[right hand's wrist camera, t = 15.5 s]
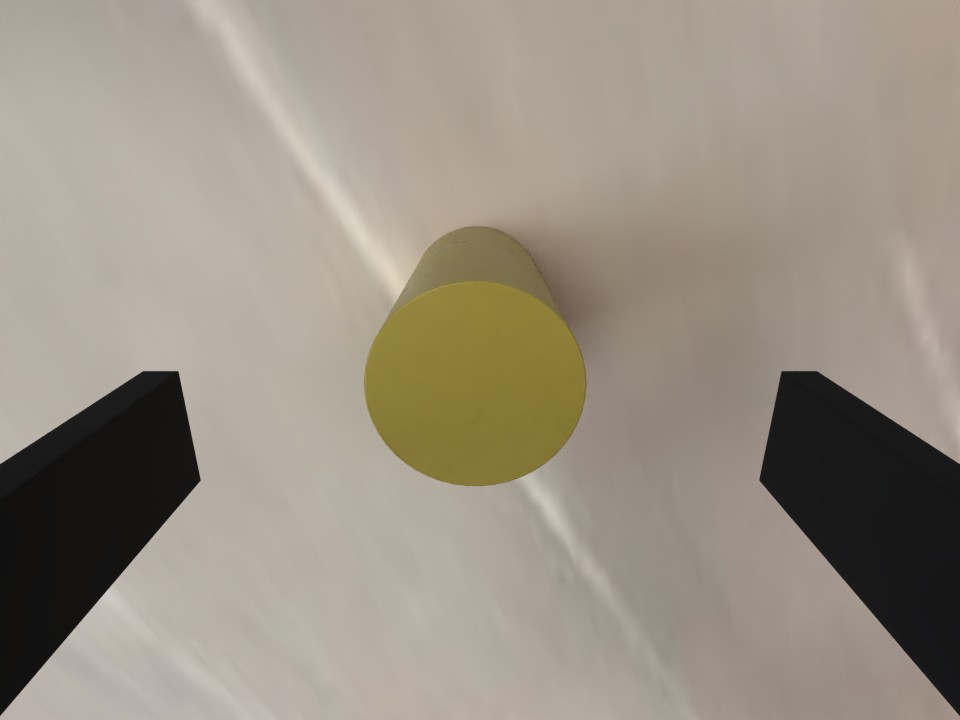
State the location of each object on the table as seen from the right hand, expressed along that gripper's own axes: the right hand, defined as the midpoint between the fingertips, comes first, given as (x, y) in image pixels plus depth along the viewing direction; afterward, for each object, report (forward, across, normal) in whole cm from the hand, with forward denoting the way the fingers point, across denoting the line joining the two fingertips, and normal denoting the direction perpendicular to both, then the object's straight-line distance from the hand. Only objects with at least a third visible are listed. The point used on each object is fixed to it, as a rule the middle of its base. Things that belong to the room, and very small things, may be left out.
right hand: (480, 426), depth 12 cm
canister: (+15, 0, 0) cm, 15 cm away
